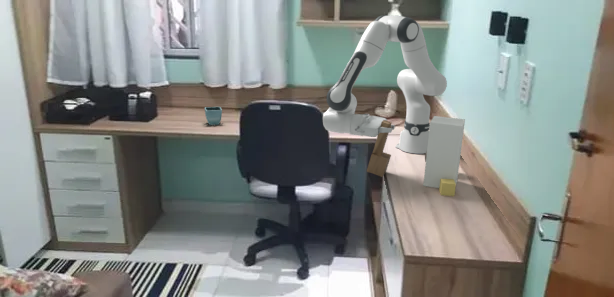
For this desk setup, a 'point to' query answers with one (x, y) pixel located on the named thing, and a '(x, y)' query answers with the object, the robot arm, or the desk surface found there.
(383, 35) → the robot arm
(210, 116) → the flower pot
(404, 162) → the desk surface
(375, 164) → the brown block
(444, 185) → the mustard block
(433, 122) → the white block
